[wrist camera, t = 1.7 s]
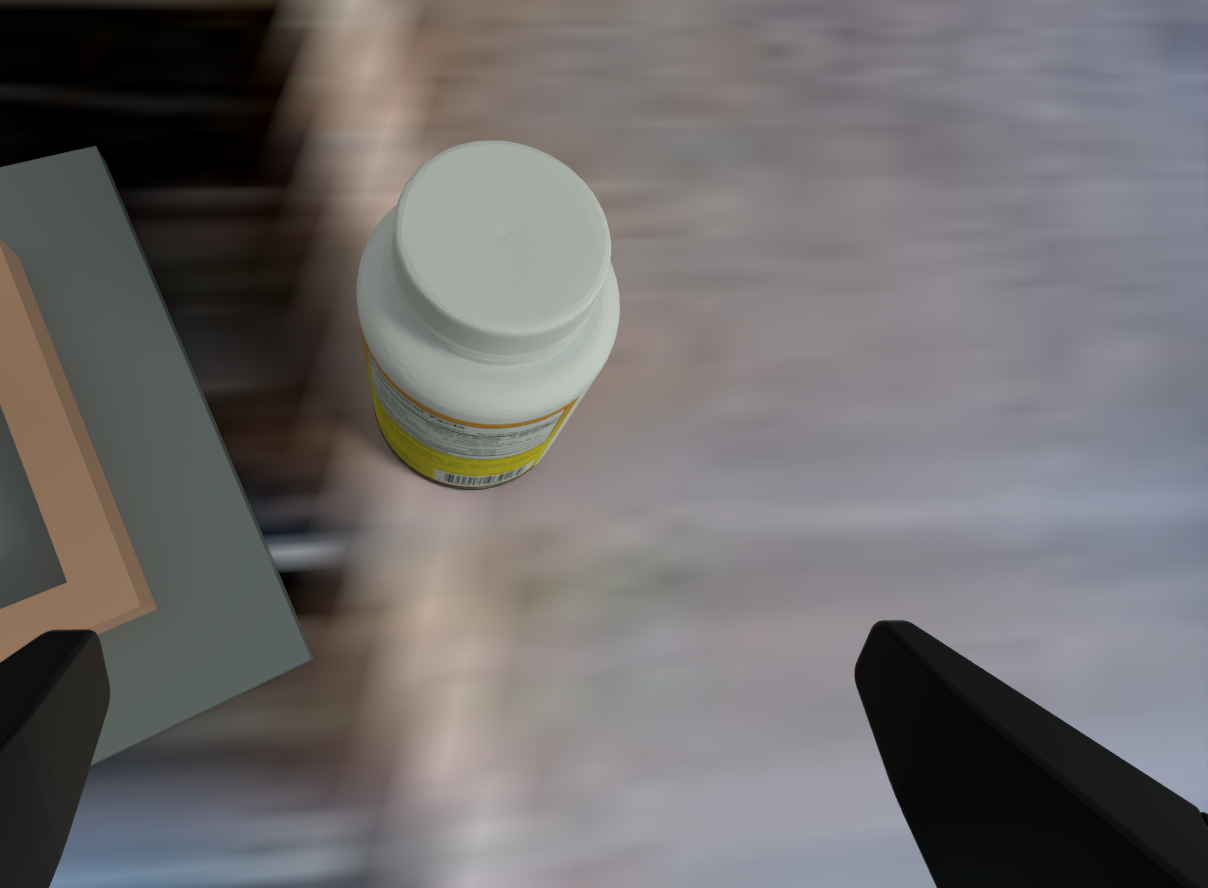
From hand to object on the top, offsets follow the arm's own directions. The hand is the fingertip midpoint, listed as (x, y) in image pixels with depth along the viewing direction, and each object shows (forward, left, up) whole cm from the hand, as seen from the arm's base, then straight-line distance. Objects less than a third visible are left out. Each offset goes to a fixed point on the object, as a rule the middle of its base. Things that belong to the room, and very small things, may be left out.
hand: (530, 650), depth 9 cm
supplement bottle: (+6, +5, -13) cm, 15 cm away
